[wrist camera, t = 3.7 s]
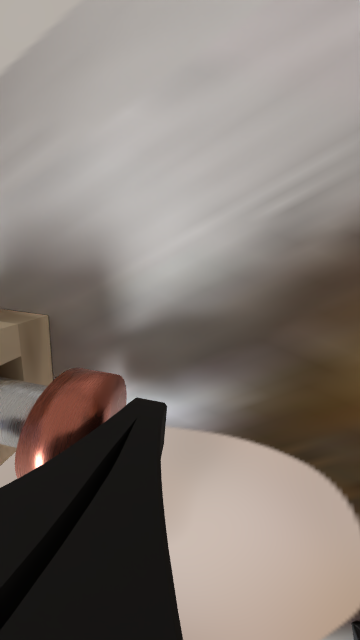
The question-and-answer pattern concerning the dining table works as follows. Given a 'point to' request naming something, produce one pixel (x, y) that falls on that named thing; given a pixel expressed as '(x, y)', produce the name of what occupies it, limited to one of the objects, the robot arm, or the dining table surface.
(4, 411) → the shaft
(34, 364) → the bearing block
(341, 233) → the dining table surface
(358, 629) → the ammunition clip
